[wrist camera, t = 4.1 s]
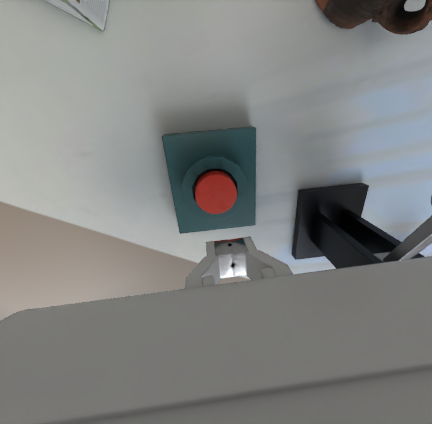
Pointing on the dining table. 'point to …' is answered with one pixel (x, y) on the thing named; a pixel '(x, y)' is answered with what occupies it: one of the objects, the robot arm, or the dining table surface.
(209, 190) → the button
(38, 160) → the dining table surface
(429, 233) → the lever handle
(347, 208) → the lever stand
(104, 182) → the dining table surface
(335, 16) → the brown clay jug
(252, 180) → the teal base plate
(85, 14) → the syrup box
